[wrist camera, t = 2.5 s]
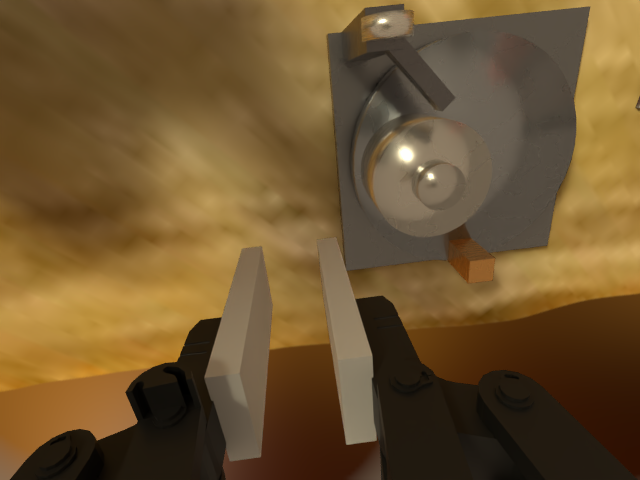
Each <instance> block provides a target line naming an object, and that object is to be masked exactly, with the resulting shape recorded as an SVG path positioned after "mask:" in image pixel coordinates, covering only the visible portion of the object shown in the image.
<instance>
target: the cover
mask: <svg viewBox="0 0 640 480" xmlns="http://www.w3.org/2000/svg"><path fill="white" fill-rule="evenodd" d="M491 178H492V160H491V156H490V152H489V150H488V147H487V145H486V143H485V142H484V140H483V139H482V137H481V136H480V135H479V134H478V133H477V132H476V131H475V130H474V129H472V128H471V127H469V126H468V125H466V124H463V123H461V122H458V121H454V120H450V119H445V118H440V117H436V116H431V115H426V114H419V113H414V114H406V115H402V116H399V117H396V118H394V119H392V120H390V121H388V122H387V123H385V124H384V125H383V126H381V127H380V128H379V129H378V130H377V131H376V132H375V133H374V135H373V136H372V137H371V139H370V140H369V142H368V144H367V145H366V148H365V150H364V153H363V156H362V161H361V179H362V183H363V186H364V188H365V191H366V192H367V194H368V196H369V197H370V199H371V200H372V201H373V203H374V204H375V205H376V207H377V208H378V210H379V211H380V212H381V214H382V215H383V217H384V218H385V219H386V220H387V222H388V223H390V224H391V225H392V226H393V227H394V228H396V229H397V230H399V231H401V232H403V233H405V234H408V235H411V236H417V237H433V236H438V235H442V234H445V233H448V232H450V231H452V230H454V229H456V228H458V227H459V226H461V225H462V224H464V223H465V222H466V221H467V220H468V219H470V218H471V217H472V216H473V215H474V213H475V212H476V211H477V210H478V209H479V207H480V206H481V204H482V203H483V201H484V199H485V197H486V195H487V193H488V190H489V187H490V183H491Z"/></svg>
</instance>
